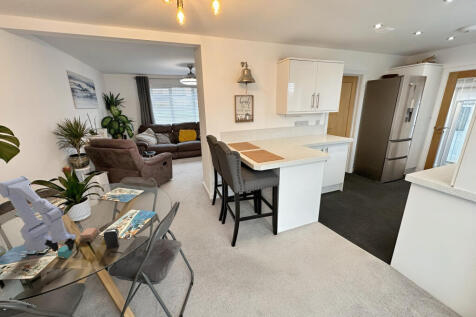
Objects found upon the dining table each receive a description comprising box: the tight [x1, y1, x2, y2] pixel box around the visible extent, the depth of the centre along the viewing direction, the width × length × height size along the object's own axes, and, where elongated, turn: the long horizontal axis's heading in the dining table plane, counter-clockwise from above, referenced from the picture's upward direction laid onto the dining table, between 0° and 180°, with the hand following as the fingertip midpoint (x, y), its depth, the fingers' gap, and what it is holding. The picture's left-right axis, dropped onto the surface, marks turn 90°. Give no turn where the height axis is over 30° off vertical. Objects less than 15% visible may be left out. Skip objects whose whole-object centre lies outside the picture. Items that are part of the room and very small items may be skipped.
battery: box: [102, 228, 121, 249], centre depth 109 cm, size 7×4×11 cm, turn 104°
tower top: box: [79, 227, 98, 239], centre depth 115 cm, size 6×6×2 cm
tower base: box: [78, 230, 100, 243], centre depth 115 cm, size 7×7×2 cm
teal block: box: [56, 245, 73, 259], centre depth 101 cm, size 4×4×5 cm
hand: (64, 249), depth 101 cm, fingers open, 7 cm apart
